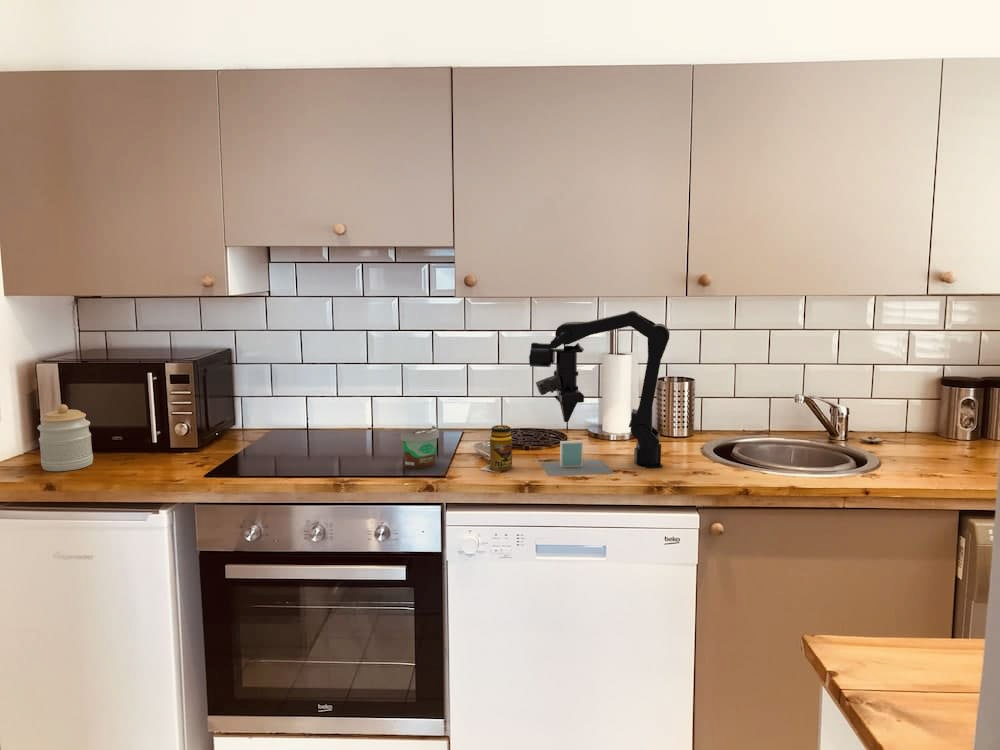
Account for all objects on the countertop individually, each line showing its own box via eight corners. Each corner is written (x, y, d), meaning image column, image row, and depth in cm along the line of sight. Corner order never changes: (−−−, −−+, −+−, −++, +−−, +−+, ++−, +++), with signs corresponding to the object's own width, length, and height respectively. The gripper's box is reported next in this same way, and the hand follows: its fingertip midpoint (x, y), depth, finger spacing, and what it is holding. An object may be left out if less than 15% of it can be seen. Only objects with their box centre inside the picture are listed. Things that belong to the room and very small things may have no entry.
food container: (416, 472, 216) (415, 436, 214) (401, 467, 220) (400, 432, 219) (448, 463, 225) (448, 428, 223) (434, 459, 229) (433, 425, 228)
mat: (601, 461, 226) (601, 460, 226) (614, 475, 212) (614, 473, 212) (539, 464, 224) (539, 462, 223) (548, 477, 210) (548, 475, 210)
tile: (581, 464, 221) (581, 440, 219) (582, 466, 219) (582, 441, 218) (559, 465, 220) (560, 441, 219) (561, 467, 218) (561, 442, 217)
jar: (104, 461, 228) (99, 401, 225) (68, 473, 215) (62, 410, 213) (67, 458, 231) (61, 399, 228) (30, 470, 219) (23, 407, 216)
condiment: (505, 474, 214) (505, 430, 212) (478, 469, 218) (478, 427, 216) (518, 467, 220) (518, 425, 218) (492, 463, 224) (491, 422, 222)
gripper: (532, 363, 231) (532, 415, 234) (544, 373, 213) (543, 430, 215) (570, 362, 232) (569, 414, 235) (584, 372, 214) (584, 428, 217)
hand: (566, 421), depth 225 cm, fingers closed
